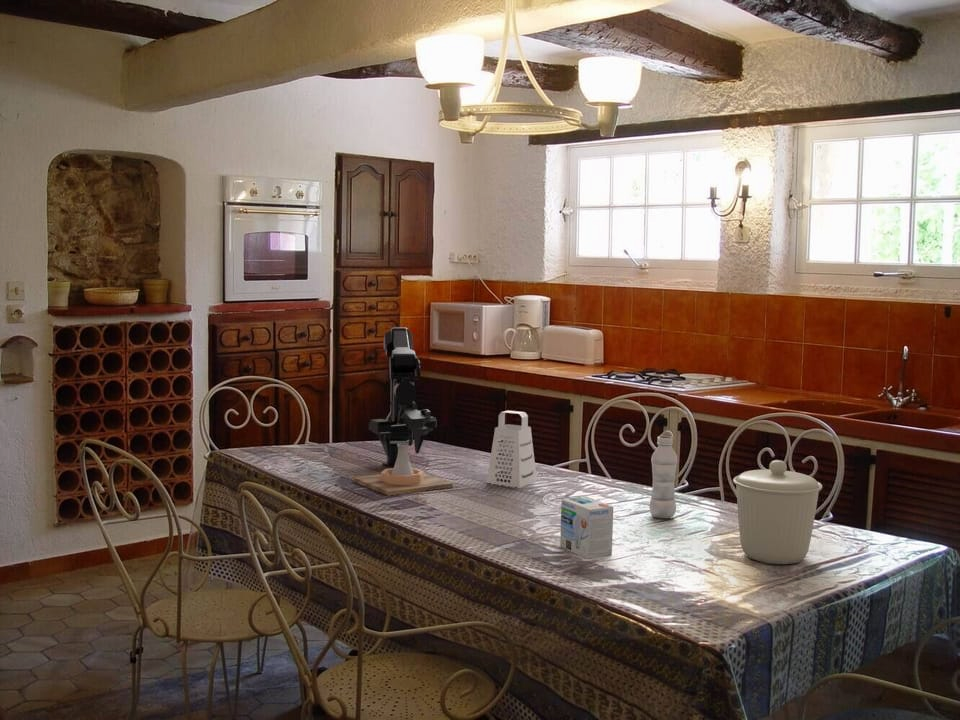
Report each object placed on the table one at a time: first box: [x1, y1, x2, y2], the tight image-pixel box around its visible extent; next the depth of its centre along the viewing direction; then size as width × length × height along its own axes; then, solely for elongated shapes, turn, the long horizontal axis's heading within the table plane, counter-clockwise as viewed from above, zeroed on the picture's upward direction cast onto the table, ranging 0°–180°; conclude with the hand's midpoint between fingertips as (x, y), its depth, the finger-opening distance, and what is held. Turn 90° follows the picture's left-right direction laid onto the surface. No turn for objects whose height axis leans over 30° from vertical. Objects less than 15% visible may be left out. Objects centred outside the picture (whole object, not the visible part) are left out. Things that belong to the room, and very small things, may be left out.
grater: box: [486, 410, 538, 489], centre depth 283 cm, size 10×10×20 cm
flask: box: [391, 444, 414, 475], centre depth 279 cm, size 7×7×10 cm
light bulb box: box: [559, 495, 614, 560], centre depth 217 cm, size 11×7×11 cm, turn 29°
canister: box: [732, 459, 823, 565], centre depth 214 cm, size 18×18×21 cm
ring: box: [380, 467, 425, 485], centre depth 279 cm, size 11×11×2 cm
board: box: [352, 472, 453, 497], centre depth 279 cm, size 20×20×1 cm
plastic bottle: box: [648, 435, 679, 519], centre depth 246 cm, size 6×7×20 cm
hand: (402, 454), depth 278 cm, fingers open, 9 cm apart
